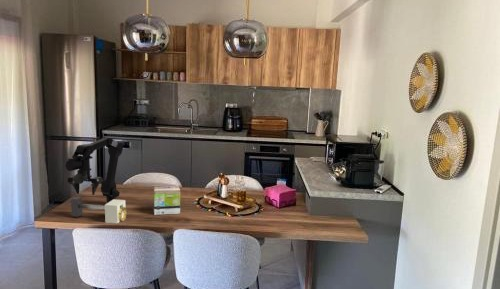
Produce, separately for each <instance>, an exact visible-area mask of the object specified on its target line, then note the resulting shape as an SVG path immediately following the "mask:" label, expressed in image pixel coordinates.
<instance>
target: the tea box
mask: <svg viewBox="0 0 500 289" xmlns="http://www.w3.org/2000/svg"><path fill="white" fill-rule="evenodd" d="M153 213H154V214H153V215H154V216H159V215H179V214H181V189H180V185H169V186H165V185H163V186H154V187H153Z"/></svg>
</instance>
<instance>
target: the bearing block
mask: <svg viewBox="0 0 500 289" xmlns="http://www.w3.org/2000/svg"><path fill="white" fill-rule="evenodd" d="M104 206H105V210H104V216H105V219H104V222H105V223H107V224H108V223H109V224H118V223H120V222H121V221H120V220H119V216H118V214H119V210H120V208H121V207H125V208H126V209H127V207H126V199H117V198H116V199H113V200H112V201H110V202H109V203H107V204H106V203H105V204H104ZM123 215H124V210H123V211H122V218H123Z"/></svg>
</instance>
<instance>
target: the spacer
mask: <svg viewBox="0 0 500 289" xmlns="http://www.w3.org/2000/svg"><path fill="white" fill-rule="evenodd" d="M123 210H124V215H123V218H122V211H123ZM127 211H128V210H127V207H126V208H125V207H121V208H120V210H119V214H118V216H119V220H120V222H124V221H125V220H126V218H127V214H128V212H127Z"/></svg>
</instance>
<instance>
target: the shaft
mask: <svg viewBox="0 0 500 289" xmlns="http://www.w3.org/2000/svg"><path fill="white" fill-rule="evenodd" d="M70 207H71V217H78V218H79V217H81V216H82V215H83V209H85V210H86V209H87V210H101V211H105V205H102V204H101V205H100V204H88V203H87V204H84V203H83V199H82V196H74V197H72V198H71V199H70Z"/></svg>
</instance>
